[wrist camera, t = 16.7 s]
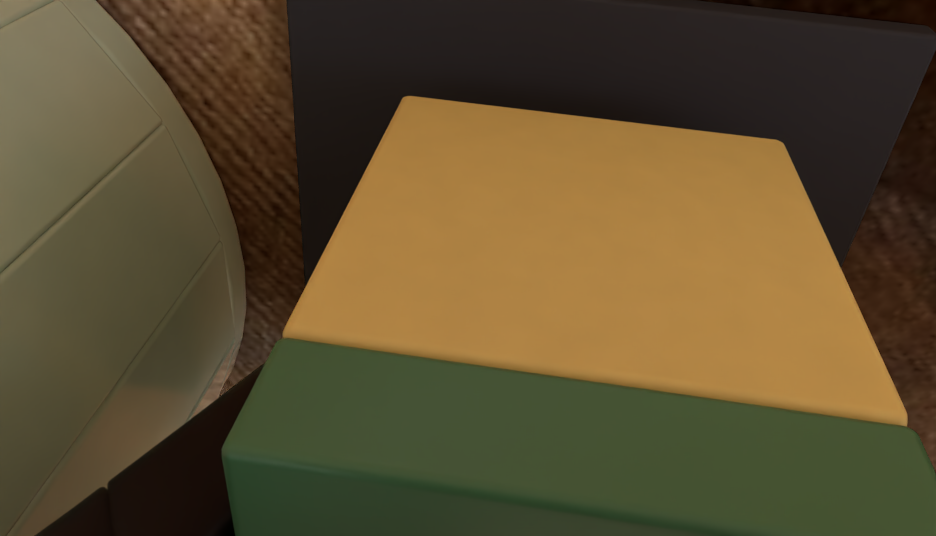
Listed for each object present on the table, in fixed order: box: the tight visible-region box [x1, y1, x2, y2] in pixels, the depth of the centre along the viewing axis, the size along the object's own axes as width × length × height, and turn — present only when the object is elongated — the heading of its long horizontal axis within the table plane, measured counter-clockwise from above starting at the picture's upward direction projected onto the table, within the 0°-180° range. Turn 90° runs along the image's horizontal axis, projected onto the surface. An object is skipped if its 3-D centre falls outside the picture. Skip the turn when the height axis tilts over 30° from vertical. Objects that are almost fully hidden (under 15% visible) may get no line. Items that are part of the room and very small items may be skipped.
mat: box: [287, 0, 936, 287], centre depth 10 cm, size 7×7×1 cm
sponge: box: [222, 96, 936, 536], centre depth 7 cm, size 5×4×5 cm
